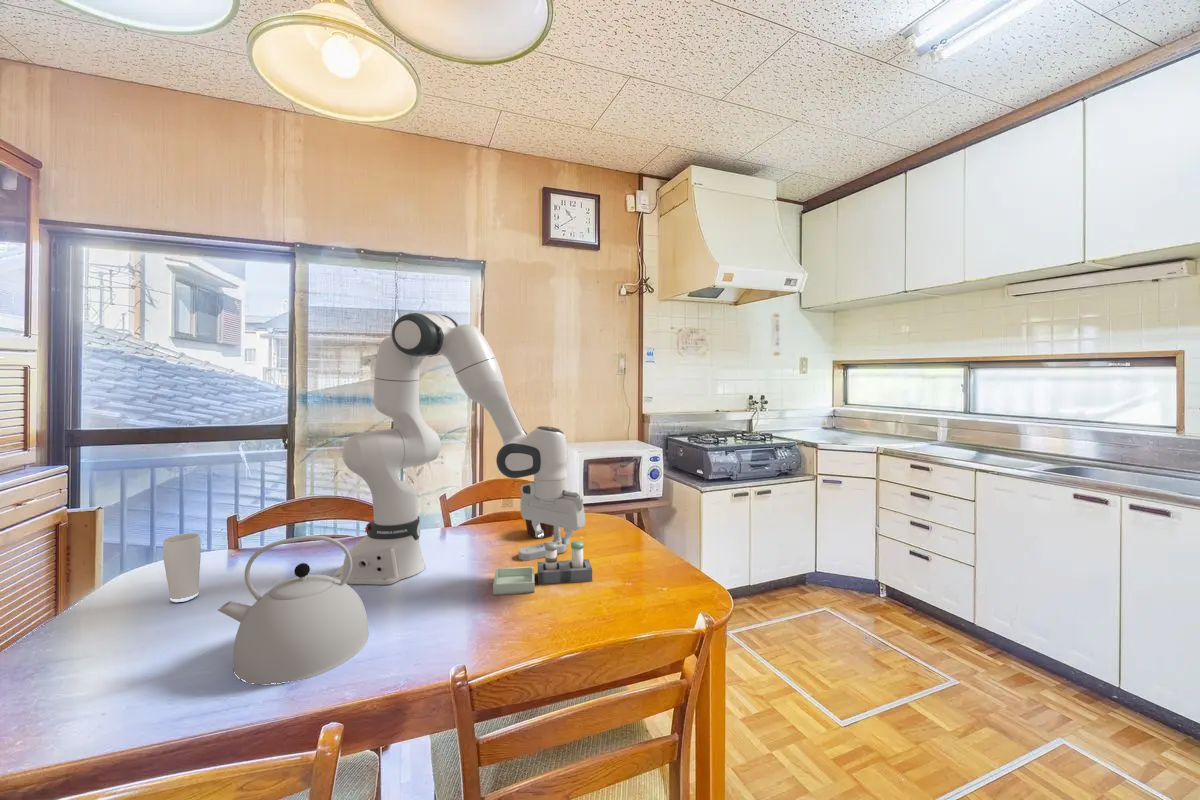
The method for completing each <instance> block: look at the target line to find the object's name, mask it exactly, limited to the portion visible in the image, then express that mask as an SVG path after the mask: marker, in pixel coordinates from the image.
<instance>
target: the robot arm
mask: <svg viewBox="0 0 1200 800" xmlns="http://www.w3.org/2000/svg"><path fill="white" fill-rule="evenodd" d="M440 355H441V356H443V357H444V358H446V359H447V360H448V362H449V364H450V366H451V369H452V370H453V372H454V375H455V377H456V379H457V381H458V384H459V385H460V387H461V388H462V390H463V391H464V393H465V394H466V396H467V397H468V398H469V399H470V400H472V401H474V402H476V403H477V404H478V405H480V406H481V407H483V408H484V409H485V410H486V411H487V412H488V413H489V416H491V418H492V420H493V423H494V424H495V427H496V429H497V431H498V433H499V435H500V437H501V439H502V443H503V445H502V446H501V448H500V449H499V451H498V452H497V454H496V457H495V458H496V459H495V460H496V467H497V469H498V471H500V473H501V474H502V475H503V476H505V477H507V478H509V479H510V478H511V479H520V478H525V477H529V476H533V481H531V482H528V483H525V484H522V485H521V486H520V493H521V495H520V501H519V502H520V506H519V507H520V515H521V517H522V519H524V520H525V519H527V520H532V526H533V528H534V530H535V536H536V537H537V539H543V538H542V537H543V536H544V534H543V533H544V530H542V529H541V526H540V523H544V524H549V525H553V526H557V527H560V528H561V529H562V528H563V531H564V533H565V534H564V536H562V537H561V539H562V544H564V545H566V546H568V545H571V537H572V535H573V533H574V531H575V532H576V531H578V530H581V529H584V527H585V526H586V515H585V509H584V507H585V506H584V499H583V498H582V497H581V495H579V493H578V492H572V491H569V474H568V470H567V465H568V462H569V461H568V458H569V456H568V443H567V437H566V434H565V433H564V431H562V430H561V429H560V428H557V427H553V426H545V425H542V426H541V425H540V426H536V428H535V429H533V430H532V431H530V432H529V433H527V431H525V430H524V428H523V426H522V423H521V421H520V419H519V417H518V416H517V413H516V411H515V409H514V407H513V405H512V403H511V401H510V398H509V394H508V391H507V389H506V384H505V381H504V377H503V374H502V371H501V367H500V365H499V362H498V360H497V358H496V356H495V354H494V351H493V350H492V347H491V346H490V344H489V343H488V340H487V339H486V338H485V336H484V334H483V333H482V331H481V330H480V329H479V328H478V327H477V326H476V325H473V324H468V323H467V324H460V325H459V324H458V323H457V322H456V320H454V319H453V318H451V317H450V316H448V315H445V314H438V313H433V312H423V313H422V312H421V313H418V312H410V313H406V314H404V315H402V316H400V317H399V318H397V319H396V320H395V321H394V324H393V325H392V328H391V336H389V337H386V338H384V339H383V340H381V341H380V344H379V345H378V349H377V355H376V360H375V366H374V367H375V368H374V382H373V383H374V385H373V404H374V408H375V409H376V410H377V411H378V412H379V413H381V415H384V416H385V417H388V418H391V419H392V422H393V428H389V429H378V430H368V431H364V432H361V433H358V434H355V435H351V436H349V437H348V438H347V440H346V441H345V443H344V444H343V447H342V459H343V462H344V464H345V466H346V468H347V469H348V470H349V471H350V472H352V473H354V474H356V475H357V476H359V477H360V478H361V479H362V480H363V481H364V482H365V484H367V486H368V488H369V491H370V493H371V498H372V508H373V517H372V518H371V519H369V521H368V523H367V524H366V526H365V528H364V533H366V535H365V536H364V537H363V538H361V539H360V540H359V541H358V542H356V543H355V544H354V545H353V546H351V547H350V548H349V549H348V551H349V553H350V555H351V558H352V571H351V574H350V576H349V578H348V579H347V581H346V582H345V583H346V584H347V585H382V586H383V585H392V584H394V583H397V582H398V581H401V580H404V579H407V578H410V577H413V576H415V575H417V574H419V573H421V572H422V571H423V570H424V569H425V568H426V563H425V561H424V558H423V553H422V549H421V544H420V543H421V542H420V537H421V522H420V516H419V513H418V512H419V511H418V508H419V507H418V503H419V502H418V491H417V489H416V488H415V487H414V485H413V484H411V483H410V482H407V481H403V480H401V479H400V478H399V476H398V470H399V469H405V468H413V467H419V466H422V465H425V464H427V463H430V462H432V461H435V460H437V458H438V456H439V455H440V452H441V449H442V442H441V439H440V436H439V434H438V433H437V432H436V431H435V430H434V428H432V427H431V426H429V424H427V422H426V421H425V419H424V416H423V415H422V411H421V408H420V407H421V406H420V379H421V377H420V375H421V364H422V362H423V360H424V359H425V358H426V357H429V358H431V357H435V356H440ZM347 569H348V560H347V557H346V555H345V557H344V560H343V564H342V565H341V566H340V567H339V568H338V569H337V570H336V571H335V573H334V575H333V578H336V579H338V580H340V581H342V579H343V578H344V576H345V575H346V572H347Z"/></svg>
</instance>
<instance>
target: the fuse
mask: <svg viewBox="0 0 1200 800" xmlns="http://www.w3.org/2000/svg"><path fill="white" fill-rule="evenodd" d="M584 546H585V543H584V541H582V540H573V541H570V547H571V560H572V569H573V568H583V560H584V548H585V547H584Z"/></svg>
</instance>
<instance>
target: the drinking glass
mask: <svg viewBox="0 0 1200 800" xmlns="http://www.w3.org/2000/svg"><path fill="white" fill-rule="evenodd" d="M200 536H201V535H200V534H199V533H196V532H191V533H190V532H189V533H180V534H175V535H172V536H169V537H167V538H164V539H163V540H162V557H163V564H164V569H165V576H166V580H167V586H168V592H169V599H170V598H172V599H181V598H186V597H190V596H193V595H195V594H197V593H198V592H199V593H200V571H201V556H202V555H201V553H202V551H201V550H202V548H201V537H200Z"/></svg>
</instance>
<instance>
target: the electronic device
mask: <svg viewBox="0 0 1200 800" xmlns="http://www.w3.org/2000/svg"><path fill="white" fill-rule="evenodd" d="M548 542H555V543H557V544H558V548H557V555H558V554H559V555H560V554H563V553H565V552H566V551H567V545H564V544H562V537H561V527H557V526H554V535H553V540H551V541H547V542H542V543H538V544H534V545H529V546H524V547H522V548H519V549H518V551H517V552H518V553H517V554H518V559H519V560H521V561H533V560H539V559H542V558H543V559H544V558H545V543H548Z"/></svg>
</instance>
